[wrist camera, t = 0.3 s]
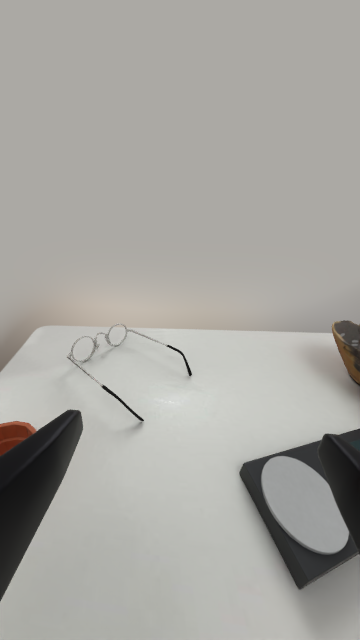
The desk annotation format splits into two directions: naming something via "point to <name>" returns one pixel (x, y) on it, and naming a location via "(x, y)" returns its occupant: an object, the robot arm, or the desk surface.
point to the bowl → (348, 346)
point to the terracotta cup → (14, 434)
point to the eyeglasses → (117, 345)
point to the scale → (301, 510)
